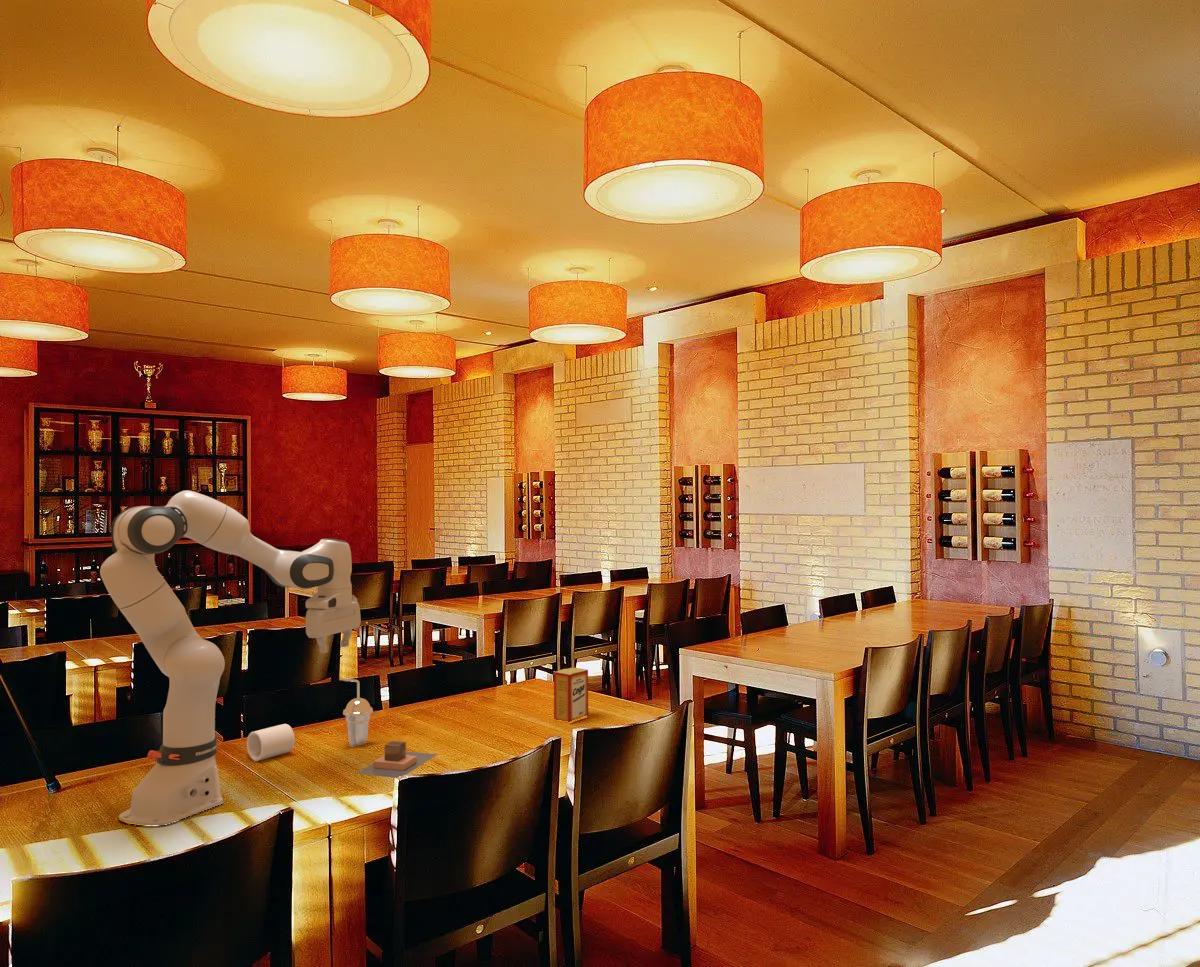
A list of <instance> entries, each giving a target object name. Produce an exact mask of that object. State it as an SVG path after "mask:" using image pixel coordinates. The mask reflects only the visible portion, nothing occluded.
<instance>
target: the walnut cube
mask: <svg viewBox="0 0 1200 967" xmlns="http://www.w3.org/2000/svg"><path fill="white" fill-rule="evenodd" d="M406 744H407V743H406V741H399V740H392V741H389V742H388V743H385V744H384V755H385V760H387V761H397V762H398V761H400V760H402V759H403V758H405V757H406V751H407V745H406Z"/></svg>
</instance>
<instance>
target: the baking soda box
mask: <svg viewBox="0 0 1200 967" xmlns="http://www.w3.org/2000/svg"><path fill="white" fill-rule="evenodd" d="M586 715H588V716H589V670H588V669H585V668H579V667H573V666H572V667H569V668H563V669H559V670H557V671H554V672H553V719H556V720H562V721H568V722H570V721H572V720H575V719H578V718H580V717H583V716H586Z"/></svg>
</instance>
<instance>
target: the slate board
mask: <svg viewBox="0 0 1200 967" xmlns="http://www.w3.org/2000/svg"><path fill="white" fill-rule="evenodd" d="M406 755H411V756H417V762H416V763H415V764H413V765H411V766H410V767H408V768H407V769H405V770H403V771H402V770H392V769H382V768H374V767H373V763H371V764H370V765H367V766H366V767H364V768H363V769H360V770H359V771H358V772H356V773H355V774H357V775H367V776H375V777H377V776H378V777H386V778H387V777H388V778H396V779H398V778H397V777H399V776H403V775H405V776H406V775H408V774H410V773H412V772H413V771H414V770H416V769H418V768H419V767H420V766H422V765H423V764H425V763H426V762H428V761H430V760H431V759H433V758H434V757H436V756H438V754H437V753H428V752H419V751H418V752H417V751H416V752H415V751H407V750H406ZM403 777H404V776H403Z"/></svg>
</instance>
